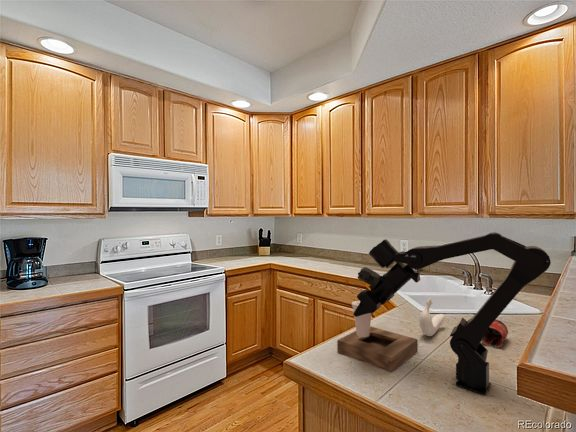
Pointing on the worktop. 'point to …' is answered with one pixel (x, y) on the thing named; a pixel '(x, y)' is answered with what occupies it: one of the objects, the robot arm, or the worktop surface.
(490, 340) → the beverage can
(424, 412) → the worktop surface
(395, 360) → the walnut box
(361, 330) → the smoothie
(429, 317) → the white curved piece
